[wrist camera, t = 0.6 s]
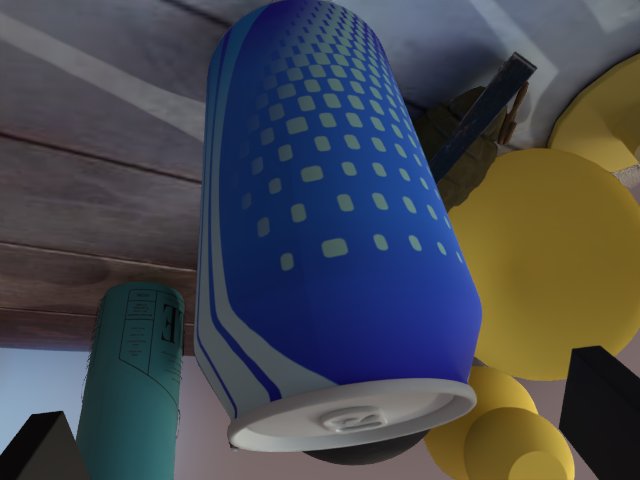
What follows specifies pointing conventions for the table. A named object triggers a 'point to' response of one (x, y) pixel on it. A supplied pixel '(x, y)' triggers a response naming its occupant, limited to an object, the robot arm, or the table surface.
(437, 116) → the hand grenade
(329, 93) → the beer can
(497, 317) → the decorative vessel
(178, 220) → the table surface
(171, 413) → the beverage bottle
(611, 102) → the candle
